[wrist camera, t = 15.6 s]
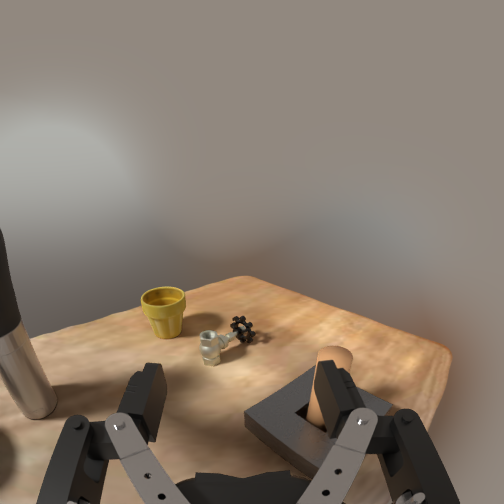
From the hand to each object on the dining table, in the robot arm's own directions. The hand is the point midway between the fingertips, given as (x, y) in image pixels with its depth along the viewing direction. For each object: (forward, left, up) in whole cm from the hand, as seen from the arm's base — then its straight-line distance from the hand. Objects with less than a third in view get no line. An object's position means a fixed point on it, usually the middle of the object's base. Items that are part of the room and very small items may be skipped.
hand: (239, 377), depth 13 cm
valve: (-31, +19, -26) cm, 45 cm away
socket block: (-5, +18, -26) cm, 32 cm away
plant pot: (-46, +13, -26) cm, 54 cm away
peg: (-5, +18, -26) cm, 32 cm away
